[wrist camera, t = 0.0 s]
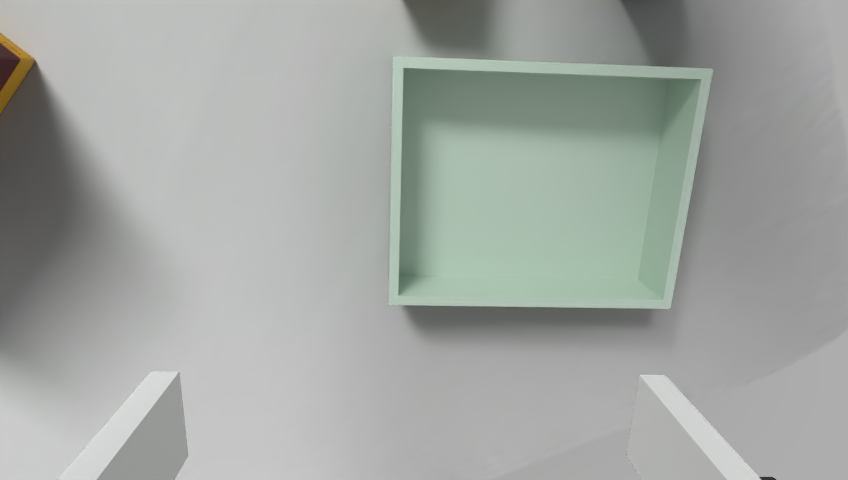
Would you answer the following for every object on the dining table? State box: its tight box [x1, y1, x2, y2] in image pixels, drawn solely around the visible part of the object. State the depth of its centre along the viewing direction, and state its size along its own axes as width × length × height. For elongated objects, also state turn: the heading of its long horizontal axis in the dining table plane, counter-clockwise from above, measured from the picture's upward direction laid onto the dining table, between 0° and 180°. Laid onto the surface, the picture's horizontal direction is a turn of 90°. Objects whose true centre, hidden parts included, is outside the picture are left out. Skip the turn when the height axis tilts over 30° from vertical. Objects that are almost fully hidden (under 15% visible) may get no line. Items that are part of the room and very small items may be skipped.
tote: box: [389, 56, 713, 309], centre depth 39 cm, size 17×21×5 cm
